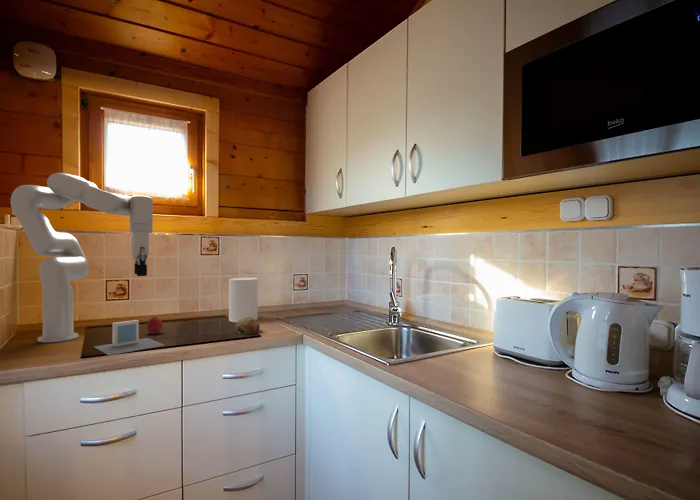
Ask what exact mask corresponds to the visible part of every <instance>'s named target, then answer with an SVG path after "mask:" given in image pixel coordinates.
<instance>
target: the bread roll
mask: <svg viewBox="0 0 700 500" xmlns="http://www.w3.org/2000/svg"><path fill="white" fill-rule="evenodd" d="M235 323H236V324H235V327H234V328H235V329H234V330H235V333H237V335H254V334H253V333H255V334H257V333H259V331H260V328H261V327H260V323H259V322H258V321H257V320H255V319H253V318H250V317H247V318H243V319H241V320H239V321H238V322H235Z"/></svg>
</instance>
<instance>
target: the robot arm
mask: <svg viewBox="0 0 700 500" xmlns="http://www.w3.org/2000/svg"><path fill="white" fill-rule="evenodd" d="M46 184H47V186H44V185H43V186H42V185H41V186H40V185H36V184H22V185H19V186H17V187H16V188H15V189H14V190H13V192H12V193H11V197H10V207H11V210H12V212H13V214H14V216H15V217H16V219H17V220H18V222H19V224H20V225H21V227H22V229H23V232H24V233H25V235H26V237H27V240H28V242H29V243H30V245H31V248H32V250H33V252H34V253H36V255H39V256H43V257H47V258H45V259H44V260H42V262H41V263H40V265H39V267H38V272H39V277H40V282H41V289H42V335H41V336H39V337H38V338H37V342H39V343H43V344H44V343H46V344H47V343H48V344H49V343H59V342H60V343H61V342H67V341H71V340H75V339H77V338H79V333H77V332H75V330H74V329H75V327H74V326H75V325H74V316H75V315H74V306H75V305H74V289H73V286H72V284H71V283H70V281H73V280H75V281H76V280H80V279H83V278H85V277H86V276H87V275H88V274H89V271H90V265H89V261H88V259H87V256H86V255H85V253H84V251H83V249H82V247H81V244H80V243H79V241H78V239H77V238H76V237H75V236H73V234H71V233H69V232H65V231H56V230H55V229H54V227H53V226H52V224H51V222H50V220H49V218H48V217H47V216H46V215H45V214H44V213H43V212H42V211H41V210H40V209H44V210H45V209H46V210H54V211H55V210H60V209H63V208H65V207H68V206H69V205H71V204H73V203H75V202H78V203H81V204H83V205H85V206H86V207H88V208H91V209H93V210H95V211H99V212H102V213H106V214H108V215H118V216H127V217H129V233H130V234H132V238H131V239H132V240H131V259H132V260H134V273H133V274H134V275H136V276H137V277H146V276H148V264H147V260H148V259H149V249H150V234H153V228H154V227H153V226H154V225H153V217H154V215H153V214H154V213H153V212H154V199H153V198H152V197H150V196H149V195H132V196H130V195H124V194H119V193H113V192H109V191H107V190H104V189H101V188H98V186H97V185H96V184H95V183H94V182H91V181H89V180H86V179H85V178H84V177H81V176H79V175H74V174H69V173H65V172H56V173H52V174H51V175H49V176H48V178H47V180H46Z"/></svg>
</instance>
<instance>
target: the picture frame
mask: <svg viewBox="0 0 700 500" xmlns="http://www.w3.org/2000/svg"><path fill="white" fill-rule="evenodd" d="M139 323H140V320H138V319H133V320H126V321H125V320H124V321H118V322H112V323H111V325H112V333H111V335H112V338H111V339H112V343H111V344H112V345H113V346H120V345H126V344H132V343H138V342H139V339H140V335H139V333H140V330H139V329H140V327H139V326H140V324H139Z"/></svg>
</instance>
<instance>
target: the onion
mask: <svg viewBox="0 0 700 500" xmlns="http://www.w3.org/2000/svg"><path fill="white" fill-rule="evenodd" d="M163 324H164V323H163V321H162V320H161V319H160V318H159V317H158V315H157V314H154V315H153V316H152V317H151V318H150V319H149V320H148V321H147V323H146V330H147V332H149V333H150V334H151V335H156V334H158V333H160V332H161V331H162V329H163V326H164V325H163Z"/></svg>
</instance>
